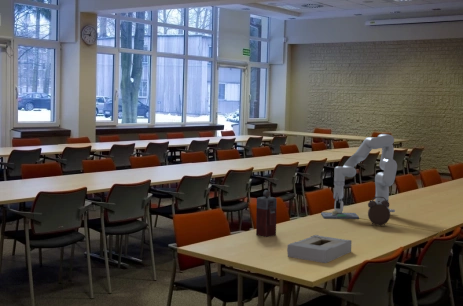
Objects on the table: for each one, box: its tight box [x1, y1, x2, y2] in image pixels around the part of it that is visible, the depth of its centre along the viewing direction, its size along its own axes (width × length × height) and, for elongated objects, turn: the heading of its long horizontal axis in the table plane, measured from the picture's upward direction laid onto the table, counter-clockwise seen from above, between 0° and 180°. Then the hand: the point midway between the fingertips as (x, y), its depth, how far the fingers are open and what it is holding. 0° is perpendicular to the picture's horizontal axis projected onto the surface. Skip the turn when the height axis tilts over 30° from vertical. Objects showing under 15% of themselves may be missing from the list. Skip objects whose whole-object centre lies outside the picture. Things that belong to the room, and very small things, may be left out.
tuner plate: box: [320, 211, 360, 220], centre depth 450 cm, size 25×16×3 cm, turn 89°
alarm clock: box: [367, 196, 391, 227], centre depth 416 cm, size 15×7×20 cm, turn 84°
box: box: [286, 234, 352, 264], centre depth 336 cm, size 23×8×32 cm
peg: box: [331, 200, 344, 215], centre depth 451 cm, size 13×6×9 cm, turn 146°
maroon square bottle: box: [255, 189, 278, 238], centre depth 383 cm, size 9×11×28 cm
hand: (338, 207), depth 454 cm, fingers closed on peg, 2 cm apart
